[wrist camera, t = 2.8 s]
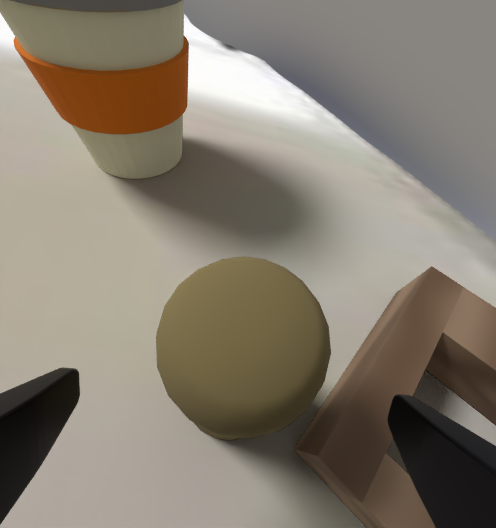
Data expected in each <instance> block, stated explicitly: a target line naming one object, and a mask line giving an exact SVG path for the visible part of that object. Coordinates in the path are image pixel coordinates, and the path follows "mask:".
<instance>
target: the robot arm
mask: <svg viewBox="0 0 496 528" xmlns="http://www.w3.org/2000/svg"><path fill="white" fill-rule="evenodd" d="M79 396H80V386H79V372H78V370H77V369H74V368H59V369H57V370H54V371H52V372H50V373H47V374H45V375H43V376H40V377H38V378H36V379H33V380H31V381H29V382H26V383H24V384H22V385H19V386H17V387H15V388H12V389H10V390H8V391H5V392H3V393H1V394H0V524H1V523H2V521H3V520H4V518H5V517H6V516H7V514H8V513H9V511H10V510H11V508H12V507H13V506H14V504H15V503H16V501H17V500H18V498H19V497H20V495H21V494H22V493H23V491H24V490H25V488H26V487H27V485H28V484H29V483H30V481H31V480H32V478H33V477H34V475H35V474H36V472H37V471H38V469H39V468H40V466H41V465H42V463H43V461H44V460H45V458H46V456H47V455H48V453H49V451H50V450H51V448H52V446H53V445H54V443H55V441H56V439H57V438H58V436H59V434H60V432H61V431H62V429H63V427H64V426H65V424H66V422H67V420H68V419H69V417H70V415H71V414H72V412H73V410H74V408H75V407H76V405H77V403H78V400H79ZM387 421H388V426H389V429H390V431H391V433H392V436H393V438H394V440H395V443H396V445H397V447H398V450H399V452H400V454H401V457H402V459H403V461H404V464H405V466H406V468H407V471H408V473H409V475H410V478H411V480H412V482H413V484H414V486H415V489H416V491H417V493H418V495H419V497H420V499H421V501H422V503H423V504H424V506H425V508H426V510H427V512H428V514H429V516H430V518H431V520H432V522H433V524H434V526H435V528H496V446H495V445H493V444H491V443H490V442H488V441H486V440H485V439H483V438H481V437H480V436H478V435H476V434H475V433H473V432H471V431H470V430H468V429H466V428H465V427H463V426H461V425H460V424H458V423H456V422H454V421H453V420H451V419H449V418H448V417H446V416H444V415H443V414H441V413H439V412H438V411H436V410H434V409H433V408H431V407H429V406H428V405H426V404H424V403H423V402H421V401H419V400H418V399H416V398H414V397H413V396H411V395H404V394H396V395H394V397H393V399H392V402H391V406H390V410H389V413H388V418H387Z"/></svg>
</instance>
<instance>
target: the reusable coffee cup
mask: <svg viewBox="0 0 496 528" xmlns="http://www.w3.org/2000/svg"><path fill="white" fill-rule="evenodd" d="M0 13H1V14H2V16H3V18H4V19H5V21H6V22H7V24H8V25H9V27H10V29H11V30H12V32H13V33H14V35H15V39H14V45H15V48H16V50H17V51H18V53H19V54H20V56H21V57H22V59H23V60H24V62H25V63H26V65H27V67H28V68H29V70H30V71H31V73H32V74H33V76H34V77H35V79H36V80H37V82H38V83H39V85H40V86H41V88H42V89H43V91H44V92H45V94H46V95H47V97H48V98H49V100H50V102H51V103H52V105H53V106H54V108H55V109H56V111H57V112H58V113H59V115H60V116H61V117H62V118H63V119H64V120H65V121H67V122H68V123H70V124H72V126H73V128H74V129H75V131H76V132H77V134H78V135H79V137H80V139H81V140H82V142H83V143H84V145H85V146H86V148H87V150H88V151H89V153H90V154H91V156H92V157H93V159H94V161H95V162H96V164H97V165H98V166H99V167H100V168H101V169H102V170H103V171H105V172H107V173H109V174H111V175H114V176H117V177H121V178H128V179H142V178H150V177H154V176H158V175H160V174H163V173H165V172H167V171H169V170H171V169H172V168H173V167H174V166H176V165H177V164H178V162H179V161H180V159H181V157H182V139H183V113H184V112H185V110H186V108H187V93H188V50H189V43H188V41H187V39H186V37H185V36H184V35H183V33H184V0H0Z"/></svg>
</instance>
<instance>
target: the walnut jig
mask: <svg viewBox="0 0 496 528" xmlns="http://www.w3.org/2000/svg"><path fill="white" fill-rule="evenodd" d="M425 369H426V370H427V371H428V372H429V373H431V374H432V375H433V376H434V377H436V378H437V379H438V380H439V381H441V382H442V383H443V384H444V385H446V386H447V387H448V388H450V389H451V390H452V391H453V392H455V393H456V394H457V395H458V396H460V397H461V398H462V399H463V400H465V401H466V402H467V403H468V404H470V405H471V406H472V407H474V408H475V409H476V410H477V411H479V412H480V413H481V414H482V415H484V416H485V417H486V418H487V419H489V420H490V421H491V422H492V423H494V424H495V425H496V308H495V307H493V306H492V305H490V304H489V303H487V302H486V301H484V300H483V299H481V298H480V297H478V296H477V295H475V294H473V293H472V292H470V291H469V290H467V289H466V288H464V287H463V286H461V285H460V284H458V283H457V282H455V281H453V280H452V279H450V278H449V277H447V276H446V275H444V274H443V273H441V272H440V271H438V270H437V269H435V268H433V267H430V268H429V269H428V270H426V271H425V272H424V273H422V274H421V275H420V276H418V277H417V278H415V279H414V280H413V281H411V282H410V283H409V284H407V285H406V286H405V287H403V288H402V289H401V290H399V291H398V292H397V293H396V294H395V296H394V297H393V299H392V300H391V302H390V303H389V305H388V306H387V308H386V309H385V311H384V312H383V314H382V315H381V317H380V318H379V320H378V321H377V323H376V325H375V326H374V328H373V329H372V331H371V332H370V334H369V335H368V337H367V338H366V340H365V341H364V343H363V344H362V346H361V347H360V349H359V350H358V352H357V353H356V355H355V356H354V358H353V359H352V361H351V362H350V364H349V366H348V367H347V369H346V370H345V372H344V373H343V375H342V376H341V378H340V379H339V381H338V382H337V384H336V385H335V387H334V388H333V390H332V391H331V393H330V394H329V396H328V397H327V399H326V400H325V402H324V403H323V405H322V406H321V408H320V410H319V411H318V413H317V414H316V416H315V417H314V419H313V420H312V422H311V423H310V425H309V426H308V428H307V429H306V431H305V432H304V434H303V435H302V437H301V438H300V440H299V441H298V443H297V444H296V446H295V447H294V450H295V451H296V452H297V453H298V454H299V455H300V456H301V457H302V458H303V459H304V460H305V462H306V463H307V464H308V465H309V466H310V467H311V468H312V469H313V470H314V471H315V472H316V473H317V475H318V476H319V477H320V478H321V479H322V480H323V481H324V482H325V483H326V484H327V485H328V486H329V488H330V489H331V490H332V491H333V492H334V493H335V494H336V495H337V496H338V497H339V498H340V499H341V501H342V502H343V503H344V504H345V505H346V506H347V507H348V508H349V509H350V510H351V511H352V512H353V513H354V515H355V516H356V517H357V518H358V519H359V520H360V521H361V522H362V523H363V524H364V525H365V526H366V528H435V526H434V524H433V522H432V520H431V518H430V516H429V514H428V512H427V510H426V508H425V506H424V504H423V503H422V501H421V499H420V497H419V495H418V493H417V491H416V489H415V486H414V484H413V482H412V480H411V478H410V475H409V474H408V473H407V472H406V471H405V470H404V469H403V468H401V467H400V466H399V465H398V464H397V463H396V462H395V461H394V460H393V459H392V458H391V457H390V456H389V455H388V454H387V453H386V451H387V449H388V447H389V445H390V443H391V441H392V439H393V436H392V433H391V431H390V429H389V426H388V421H387V418H388V413H389V410H390V406H391V402H392V399H393V397H394V395H396V394H404V395H411V396H413V394H414V392H415V390H416V388H417V386H418V384H419V381H420V379H421V377H422V375H423V373H424V371H425Z"/></svg>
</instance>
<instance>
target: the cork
mask: <svg viewBox="0 0 496 528" xmlns="http://www.w3.org/2000/svg"><path fill="white" fill-rule="evenodd" d="M156 347H157V368H158V370H159V373H160V375H161V378H162V381H163V383H164V386H165V389H166V391H167V394H168V396H169V397H170V398H171V399H172V400H173V402H174V403H175V404H176V405H177V406H178V407H179V408H180V410H181V411H182V412H183V413H184V414H185V415H186V417H187V418H188V419H189V420H191V421H193V422H194V423H195V425H196V426H197V427H198V428H199V429H200V430H201V431H203V432H205V433H207V434H208V435H210V436H212V437H214V438H218V439H227V440H235V439H238V438H254V437H258V436H261V435H265V434H268V433H272V432H275V431H279V430H282V429H283V428H284V427H286V426H287V425H288V424H290V423H291V422H292V421H294V420H295V419H296V418H298V417H299V416H300V415H302V414H303V413H304V412H306V410H307V409H308V407H309V406H310V404H311V402H312V401H313V399H314V398H315V396H316V395H317V393H318V391H319V390H320V388H321V387H322V385H323V383H324V381H325V376H326V372H327V368H328V363H329V359H330V355H331V349H330V337H329V326H328V324H327V321H326V319H325V316H324V314H323V311H322V309H321V306H320V304H319V302H318V301H317V299H316V298H315V297H314V295H313V294H312V293H311V291H310V290H309V289H308V287H307V286H306V285H305V284H304V282H303V281H302V280H300V279H299V278H298V277H297V276H295V275H294V274H293V273H291V272H290V271H289V270H287V269H286V268H284V267H282V266H280V265H277V264H275V263H272V262H270V261H267V260H265V259H258V258H250V257H237V258H229V259H222V260H220V261H217V262H215V263H212V264H210V265H208V266H205V267H203V268H201V269H198V270H197V271H196V272H194V273H193V274H192V275H191V276H189V277H188V278H187V279H186V280H184V281H183V282H182V283H181V284H179V286H178V287H177V289H176V290H175V292H174V293H173V294H172V296H171V297H170V299H169V300H168V302H167V303H166V305H165V307H164V310H163V314H162V317H161V320H160V324H159V327H158V330H157V336H156Z"/></svg>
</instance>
